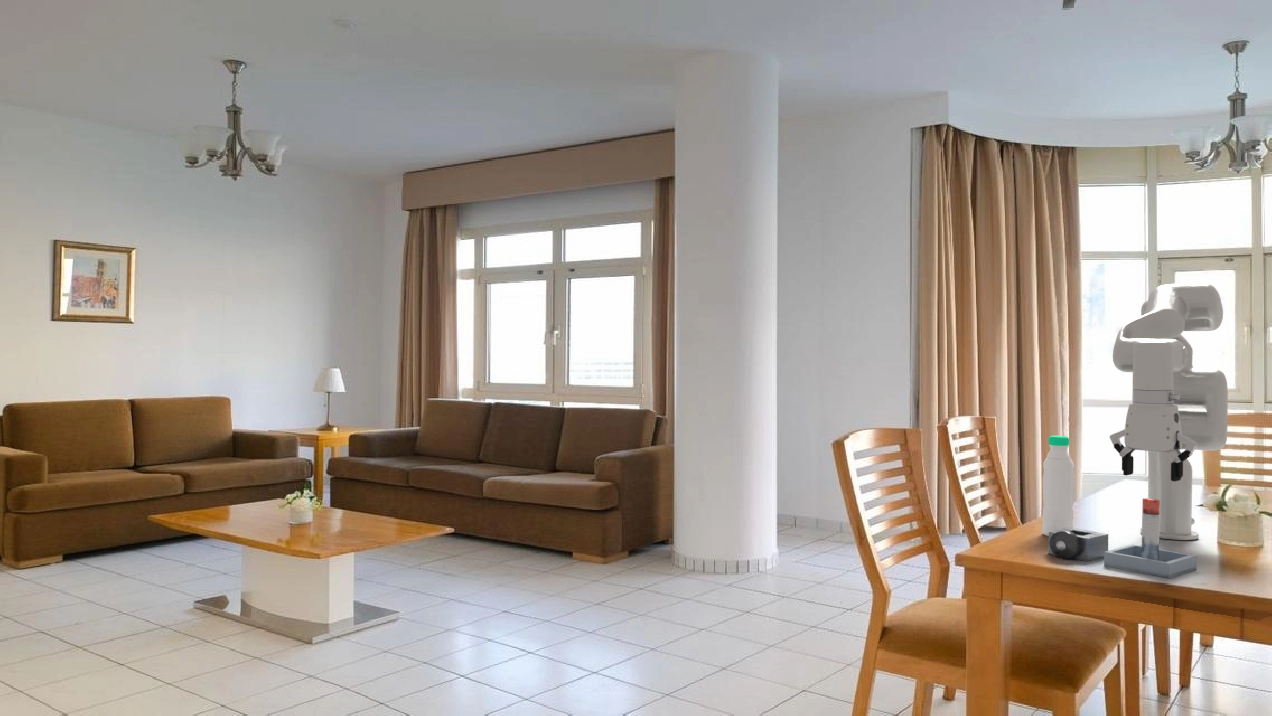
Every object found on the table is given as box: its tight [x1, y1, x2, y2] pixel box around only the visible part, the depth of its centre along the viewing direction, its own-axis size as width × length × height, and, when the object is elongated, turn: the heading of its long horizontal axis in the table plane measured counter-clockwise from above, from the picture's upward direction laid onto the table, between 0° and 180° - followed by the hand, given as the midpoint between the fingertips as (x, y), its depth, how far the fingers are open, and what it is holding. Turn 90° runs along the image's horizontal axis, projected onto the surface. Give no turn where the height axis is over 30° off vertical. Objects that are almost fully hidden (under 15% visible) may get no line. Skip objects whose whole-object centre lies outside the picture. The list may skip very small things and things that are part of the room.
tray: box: [1103, 544, 1198, 579], centre depth 191 cm, size 13×13×3 cm
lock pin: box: [1141, 497, 1160, 561], centre depth 191 cm, size 3×3×14 cm
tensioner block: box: [1048, 527, 1109, 562], centre depth 202 cm, size 12×9×6 cm
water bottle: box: [1041, 435, 1075, 537], centre depth 224 cm, size 7×7×25 cm
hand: (1151, 477), depth 192 cm, fingers open, 9 cm apart
